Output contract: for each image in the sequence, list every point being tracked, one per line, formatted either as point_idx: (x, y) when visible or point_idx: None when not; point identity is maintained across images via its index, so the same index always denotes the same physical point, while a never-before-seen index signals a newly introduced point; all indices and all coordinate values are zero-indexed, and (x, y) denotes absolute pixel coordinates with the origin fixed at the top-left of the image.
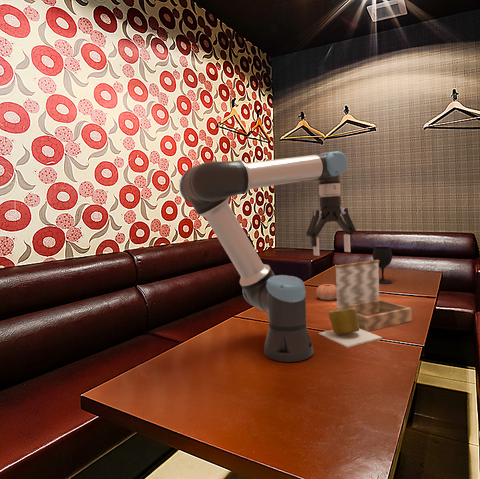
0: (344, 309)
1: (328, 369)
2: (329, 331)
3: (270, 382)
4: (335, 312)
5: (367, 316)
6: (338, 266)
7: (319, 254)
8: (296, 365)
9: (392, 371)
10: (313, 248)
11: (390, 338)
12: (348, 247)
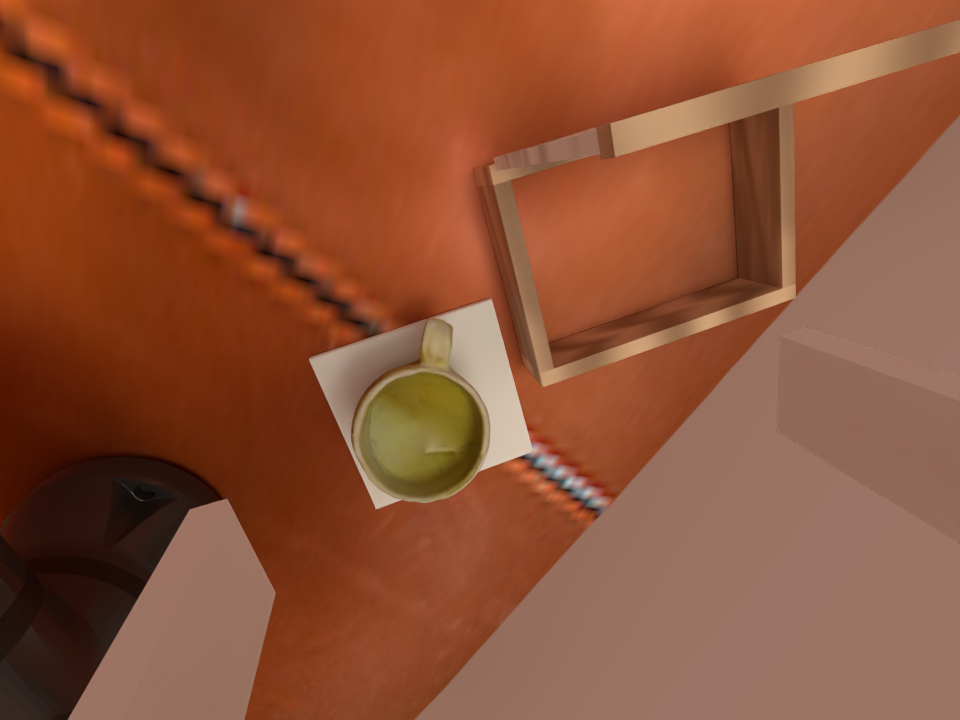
0: (455, 382)
1: None
2: (365, 353)
3: None
4: (370, 480)
5: (555, 370)
6: (639, 148)
7: (270, 610)
8: None
9: (429, 649)
10: (133, 609)
11: (559, 446)
12: (837, 463)
